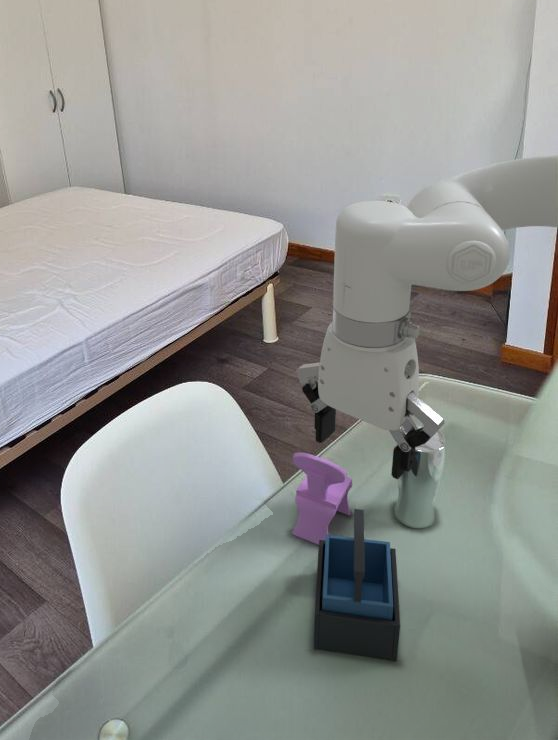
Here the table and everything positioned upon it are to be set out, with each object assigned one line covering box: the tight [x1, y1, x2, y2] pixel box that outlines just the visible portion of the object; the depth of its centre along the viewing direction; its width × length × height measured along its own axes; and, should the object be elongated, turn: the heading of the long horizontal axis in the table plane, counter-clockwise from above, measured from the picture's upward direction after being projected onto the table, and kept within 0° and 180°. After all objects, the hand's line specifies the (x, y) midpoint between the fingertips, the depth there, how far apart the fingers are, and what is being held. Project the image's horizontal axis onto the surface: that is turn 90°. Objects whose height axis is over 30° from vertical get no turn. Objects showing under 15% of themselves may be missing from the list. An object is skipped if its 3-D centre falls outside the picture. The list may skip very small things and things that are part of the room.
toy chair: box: [291, 451, 353, 546], centre depth 104 cm, size 8×9×15 cm
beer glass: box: [393, 423, 447, 529], centre depth 104 cm, size 7×7×15 cm
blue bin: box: [322, 508, 393, 621], centre depth 89 cm, size 8×10×13 cm
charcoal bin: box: [313, 540, 401, 663], centre depth 91 cm, size 10×12×7 cm
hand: (361, 453), depth 78 cm, fingers open, 9 cm apart
